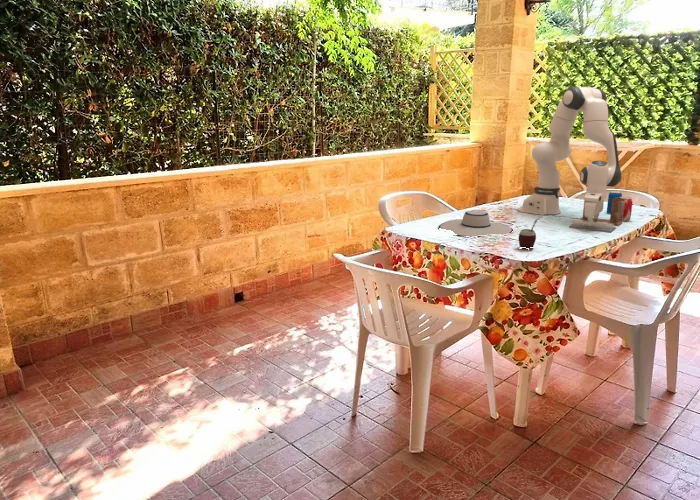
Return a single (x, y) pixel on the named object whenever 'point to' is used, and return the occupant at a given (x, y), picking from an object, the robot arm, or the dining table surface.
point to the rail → (595, 224)
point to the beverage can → (611, 197)
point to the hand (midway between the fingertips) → (592, 223)
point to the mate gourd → (527, 237)
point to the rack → (614, 213)
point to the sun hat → (475, 225)
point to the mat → (592, 228)
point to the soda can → (625, 209)
